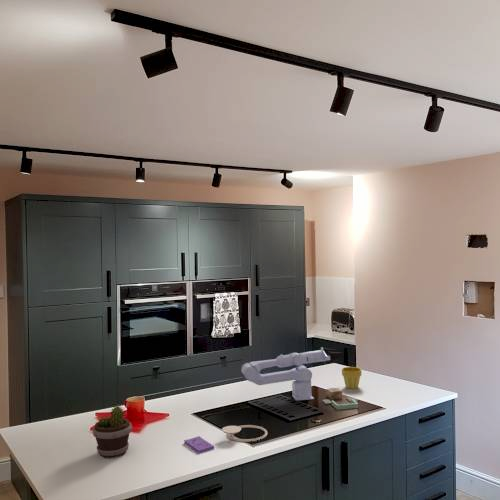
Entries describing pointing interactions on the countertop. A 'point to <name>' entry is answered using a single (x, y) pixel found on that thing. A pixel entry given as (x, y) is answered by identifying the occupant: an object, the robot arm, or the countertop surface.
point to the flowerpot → (112, 434)
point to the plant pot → (351, 376)
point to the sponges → (198, 444)
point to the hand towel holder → (236, 429)
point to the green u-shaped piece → (343, 406)
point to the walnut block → (334, 393)
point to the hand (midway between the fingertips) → (339, 353)
